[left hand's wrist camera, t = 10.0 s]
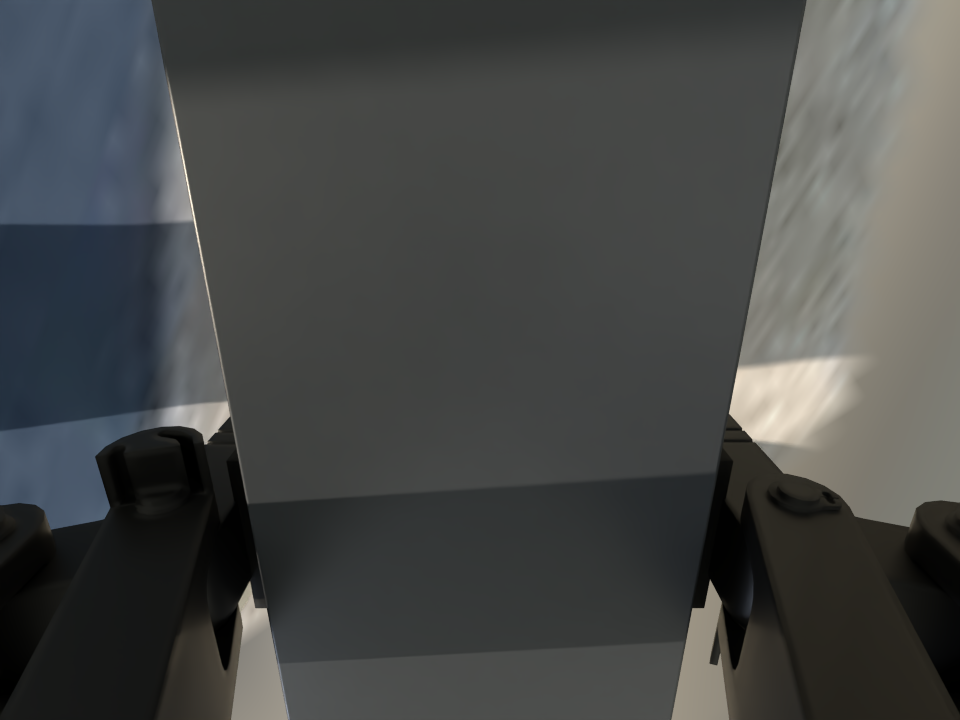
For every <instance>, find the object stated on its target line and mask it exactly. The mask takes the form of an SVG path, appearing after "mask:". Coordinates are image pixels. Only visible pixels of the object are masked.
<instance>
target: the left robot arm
mask: <svg viewBox="0 0 960 720" xmlns="http://www.w3.org/2000/svg"><path fill="white" fill-rule="evenodd" d="M95 458H96V461H97V464H98V468H99V471H100V474H101V478H102V481H103V484H104V488H105V491H106V494H107V498H108V501H109V504H110V510H109V512H108V514H107V516H106V517H105V519H103V520H99V521H95V522H89V523H84V524H79V525H74V526H68V527H63V528H58V529H53V530H51V529H50V526H49V523H48V520H47V518H46V515H45V512H44V510H42V509H41V508H39V507H38V506H36V505H32V504H22V503H17V504H9V505H0V720H231V715H232V707H233V699H234V691H235V684H236V676H237V668H238V661H239V653H240V645H241V637H242V630H243V626H242V619H241V614H240V609H239V604H238V603H239V601H240V599H241V597H242V595H243V593H244V591H245V589H246V588H247V586H248V584H249V582H250V583H251V588H252V593H253V598H254V603H255V608H267V606H266V601H265V596H264V590H263V585H262V580H261V574H260V569H259V564H258V559H257V553H256V548H255V543H254V538H253V532H252V527H251V522H250V516H249V511H248V506H247V501H246V495H245V490H244V485H243V480H242V474H241V469H240V464H239V458H238V453H237V448H236V443H235V437H234V432H233V427H232V422H231V416H230V417H229V418H228V420H227V421H226V422H225V423H224V424H223V425H222V426H221V427H220V428H219V430H218V433H215V434H214V435H213V436H212V437H211V438H210V439H209V441H208V444H207V445H204V441H203V436H202V434H201V433H200V432H198V431H197V430H195V429H193V428H187V427H182V426H172V427H159V428H154V429H149V430H144V431H140V432H137V433H134V434H131V435H128V436H126V437H123V438H121V439H119V440H117V441H115V442H113V443H111V444H110V445H108V446H106V447H105V448H104V449H103V450H102V451H101V452H100V453H98V454H97V455H96V456H95ZM710 580H711V582H712V583H713V585H714V587H715V589H716V591H717V593H718V595H719V597H720V599H721V601H722V605H721V609H720V614H719V618H718V623H717V628H716V632H715V637H714V642H713V646H712V651H711V657H710V664H714V665H717V664H718V659H719V655H720V653H721V659H722V667H723V675H724V682H725V690H726V698H727V705H728V713H729V720H960V503H956V502H948V501H932V502H925V503H923V504H922V505H920V506H919V507H917V508H916V510H915V513H914V516H913V519H912V522H911V524H910V527H905V526H900V525H895V524H889V523H884V522H879V521H873V520H868V519H863V518H858V517H855V516H854V514H853V513H852V511H851V509H850V507H849V506H848V505H847V504H846V502H845V501H844V500H843V499H842V498H841V497H840V496H839V495H838V494H836V493H835V492H833V491H831V490H830V489H828V488H827V487H825V486H823V485H821V484H818V483H816V482H814V481H811V480H809V479H806V478H802V477H798V476H794V475H789V474H783V473H782V471H781V470H780V469H779V468H778V467H777V466H776V465H775V464H774V463H773V462H772V461H771V459H770V458H769V457H768V456H767V455H766V454H765V453H764V452H763V451H762V450H761V448H760V447H759V446H758V445H757V444H756V443H755V442H752V439H751V437H750V436H749V435H748V434H747V433H746V432H745V431H742V428H741V426H740V425H739V424H738V423H737V422H736V421H735V420H734V419H733V418H732V417H731V415H730V414H729V415H728V420H727V426H726V431H725V436H724V442H723V447H722V452H721V458H720V463H719V468H718V474H717V479H716V484H715V490H714V495H713V500H712V506H711V511H710V516H709V521H708V527H707V532H706V537H705V543H704V548H703V553H702V559H701V564H700V569H699V575H698V580H697V585H696V591H695V596H694V601H693V607H692V608H704V606H705V601H706V596H707V591H708V586H709V581H710Z"/></svg>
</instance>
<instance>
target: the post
mask: <svg viewBox="0 0 960 720" xmlns="http://www.w3.org/2000/svg"><path fill="white" fill-rule="evenodd" d="M152 5H153V10H154V16H155V21H156V26H157V32H158V37H159V42H160V47H161V53H162V58H163V63H164V68H165V74H166V79H167V84H168V90H169V95H170V100H171V105H172V111H173V116H174V121H175V126H176V132H177V137H178V142H179V148H180V153H181V158H182V163H183V169H184V174H185V179H186V184H187V190H188V195H189V200H190V205H191V211H192V216H193V221H194V227H195V232H196V237H197V242H198V248H199V253H200V258H201V263H202V269H203V274H204V279H205V285H206V290H207V295H208V300H209V306H210V311H211V316H212V321H213V327H214V332H215V337H216V343H217V348H218V353H219V358H220V364H221V369H222V374H223V379H224V385H225V390H226V395H227V401H228V406H229V411H230V416H231V422H232V427H233V432H234V437H235V443H236V448H237V453H238V458H239V464H240V469H241V474H242V480H243V485H244V490H245V495H246V501H247V506H248V511H249V516H250V522H251V527H252V532H253V538H254V543H255V548H256V553H257V559H258V564H259V569H260V574H261V580H262V585H263V590H264V596H265V601H266V606H267V611H268V617H269V622H270V627H271V632H272V638H273V643H274V648H275V653H276V659H277V664H278V669H279V674H280V680H281V685H282V690H283V696H284V701H285V706H286V711H287V717H288V720H671V718H672V713H673V708H674V702H675V697H676V692H677V686H678V681H679V676H680V670H681V665H682V660H683V654H684V649H685V644H686V638H687V633H688V628H689V622H690V617H691V612H692V607H693V601H694V596H695V591H696V585H697V580H698V575H699V569H700V564H701V559H702V553H703V548H704V543H705V537H706V532H707V527H708V521H709V516H710V511H711V506H712V500H713V495H714V490H715V484H716V479H717V474H718V468H719V463H720V458H721V452H722V447H723V442H724V436H725V431H726V426H727V420H728V415H729V410H730V404H731V399H732V394H733V389H734V383H735V378H736V373H737V367H738V362H739V357H740V351H741V346H742V341H743V335H744V330H745V325H746V319H747V314H748V309H749V303H750V298H751V293H752V287H753V282H754V277H755V271H756V266H757V261H758V256H759V250H760V245H761V240H762V234H763V229H764V224H765V218H766V213H767V208H768V202H769V197H770V192H771V186H772V181H773V176H774V170H775V165H776V160H777V154H778V149H779V144H780V139H781V133H782V128H783V123H784V117H785V112H786V107H787V101H788V96H789V91H790V85H791V80H792V75H793V69H794V64H795V59H796V53H797V48H798V43H799V37H800V32H801V27H802V22H803V16H804V11H805V6H806V0H152Z"/></svg>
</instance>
